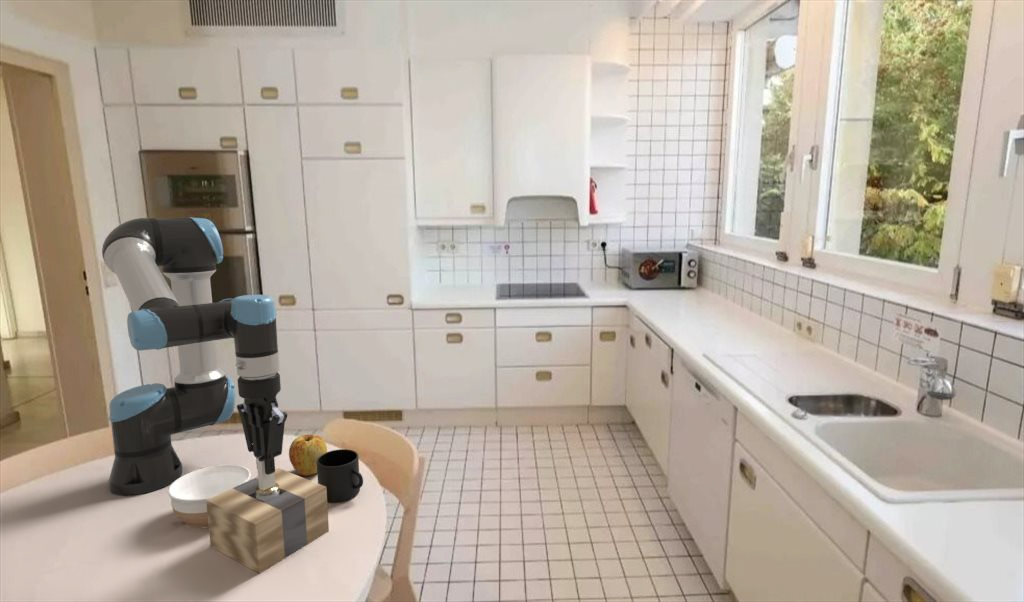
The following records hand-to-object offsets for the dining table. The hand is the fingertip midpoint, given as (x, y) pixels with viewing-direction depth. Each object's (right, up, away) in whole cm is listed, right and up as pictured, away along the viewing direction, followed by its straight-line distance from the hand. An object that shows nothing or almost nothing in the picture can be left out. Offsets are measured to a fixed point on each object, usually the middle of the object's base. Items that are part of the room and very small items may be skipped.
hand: (267, 486), depth 109 cm
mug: (+9, -9, +19) cm, 23 cm away
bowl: (-17, -10, +11) cm, 23 cm away
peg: (0, -9, +2) cm, 9 cm away
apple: (-3, -7, +30) cm, 31 cm away
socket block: (0, -11, +2) cm, 12 cm away
